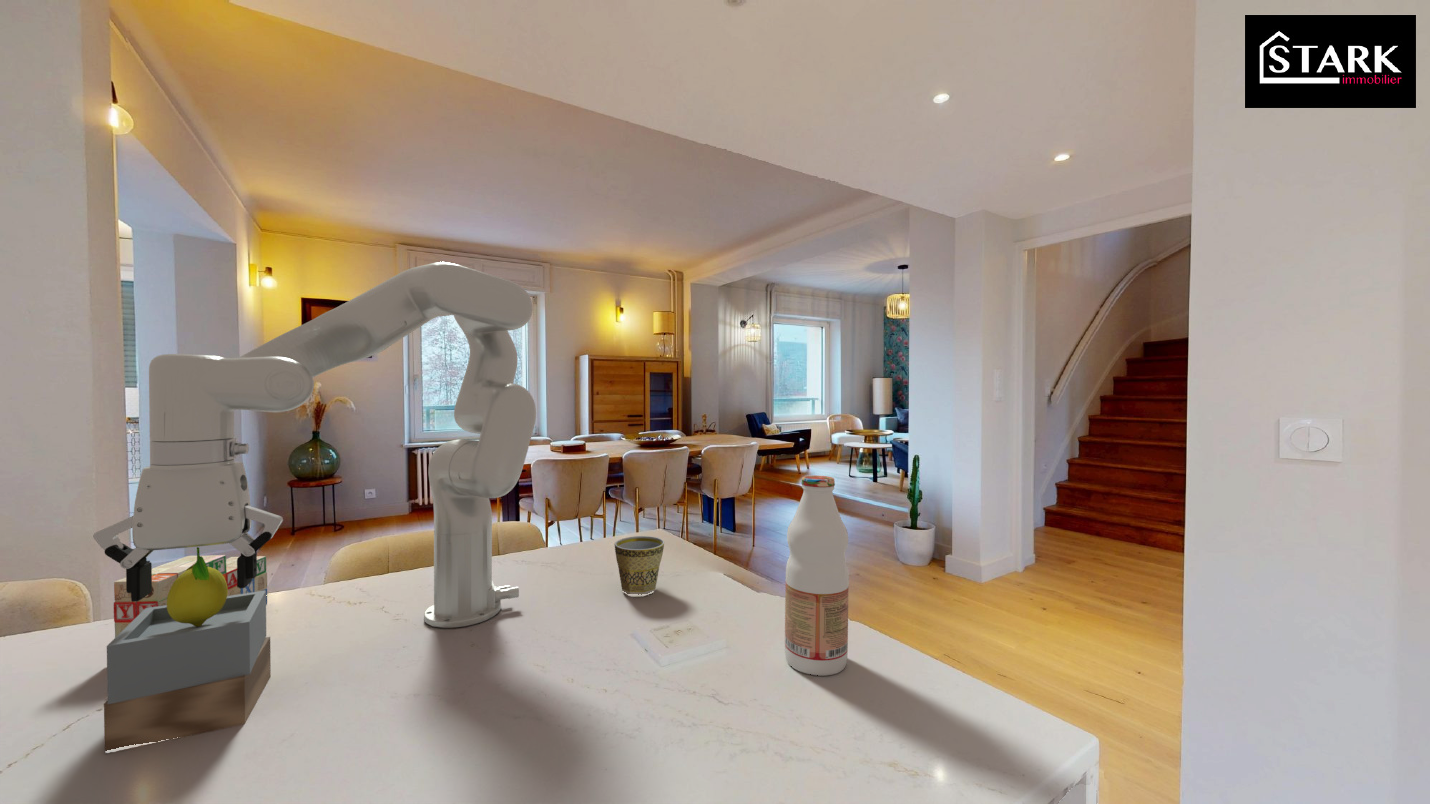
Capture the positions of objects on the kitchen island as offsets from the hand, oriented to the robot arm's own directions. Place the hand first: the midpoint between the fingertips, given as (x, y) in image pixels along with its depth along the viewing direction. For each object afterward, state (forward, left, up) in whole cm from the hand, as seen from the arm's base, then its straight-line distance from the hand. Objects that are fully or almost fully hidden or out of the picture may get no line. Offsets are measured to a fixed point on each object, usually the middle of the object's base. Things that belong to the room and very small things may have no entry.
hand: (195, 590), depth 67 cm
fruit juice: (-78, +24, -16) cm, 83 cm away
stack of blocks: (+9, -30, -16) cm, 35 cm away
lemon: (0, 0, -5) cm, 5 cm away
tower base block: (0, 0, -16) cm, 16 cm away
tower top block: (0, 0, -10) cm, 10 cm away
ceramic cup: (-64, -16, -16) cm, 68 cm away
